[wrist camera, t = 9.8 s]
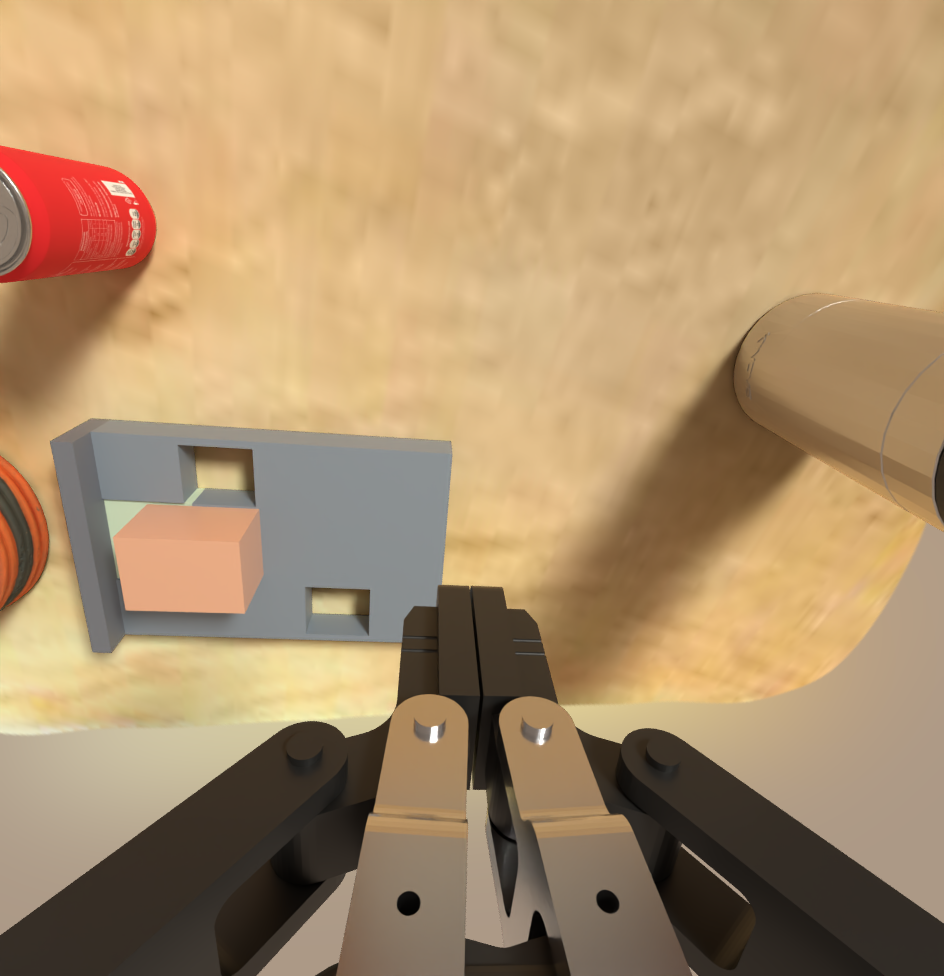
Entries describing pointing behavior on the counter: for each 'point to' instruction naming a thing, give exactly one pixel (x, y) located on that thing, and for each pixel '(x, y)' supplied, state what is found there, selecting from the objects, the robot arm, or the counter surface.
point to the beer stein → (19, 536)
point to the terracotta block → (190, 559)
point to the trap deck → (265, 524)
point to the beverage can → (68, 217)
